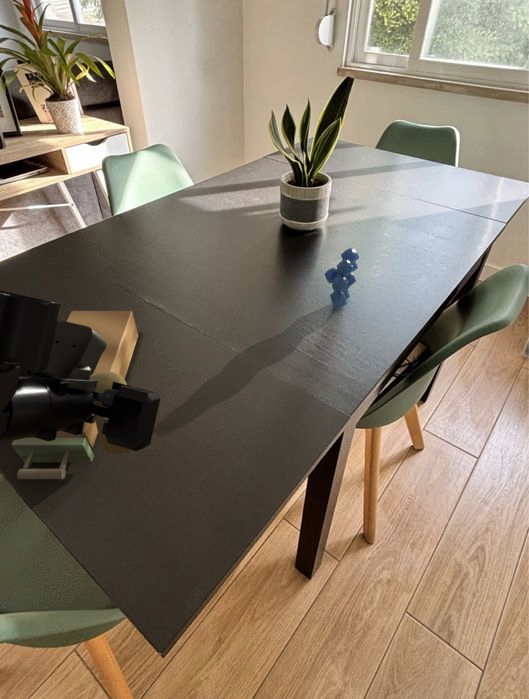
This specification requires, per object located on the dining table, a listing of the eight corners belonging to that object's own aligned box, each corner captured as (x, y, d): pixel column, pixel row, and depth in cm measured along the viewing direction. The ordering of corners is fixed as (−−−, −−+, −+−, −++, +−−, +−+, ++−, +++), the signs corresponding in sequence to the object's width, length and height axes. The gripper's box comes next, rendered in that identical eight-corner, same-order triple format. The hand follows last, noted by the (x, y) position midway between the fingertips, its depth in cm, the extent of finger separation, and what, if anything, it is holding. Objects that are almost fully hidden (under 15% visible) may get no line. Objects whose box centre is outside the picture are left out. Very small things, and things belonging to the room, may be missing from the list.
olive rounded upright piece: (135, 457, 56) (116, 404, 49) (92, 451, 57) (66, 397, 49) (151, 420, 61) (135, 366, 53) (110, 415, 61) (89, 361, 54)
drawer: (83, 489, 60) (73, 472, 56) (11, 489, 60) (-3, 472, 56) (121, 371, 76) (115, 353, 72) (65, 371, 76) (56, 352, 72)
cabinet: (113, 413, 70) (104, 389, 66) (45, 413, 70) (31, 389, 66) (138, 335, 84) (131, 310, 79) (81, 335, 84) (71, 310, 79)
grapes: (329, 282, 97) (335, 234, 89) (358, 289, 95) (367, 240, 87) (313, 312, 89) (318, 262, 81) (345, 320, 87) (353, 270, 79)
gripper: (132, 344, 38) (196, 352, 53) (-35, 304, 42) (69, 322, 57) (104, 466, 38) (177, 439, 53) (-60, 414, 42) (50, 403, 57)
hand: (116, 397), depth 55 cm, fingers closed on olive rounded upright piece, 5 cm apart
